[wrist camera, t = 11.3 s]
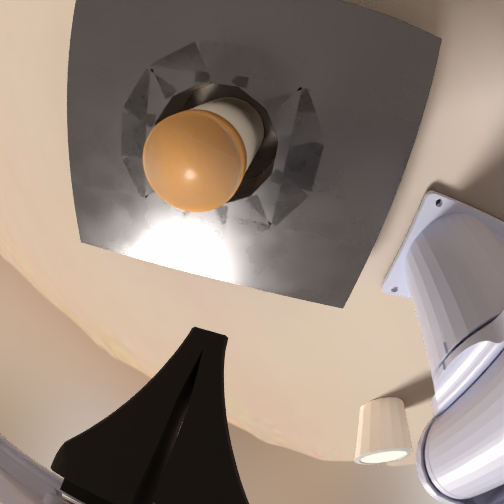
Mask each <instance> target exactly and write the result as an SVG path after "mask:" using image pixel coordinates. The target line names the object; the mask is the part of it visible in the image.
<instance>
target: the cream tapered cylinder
mask: <svg viewBox="0 0 504 504" xmlns="http://www.w3.org/2000/svg"><path fill="white" fill-rule="evenodd" d="M412 452H413V450H412V444H411V438H410V432H409V427H408V422H407V417H406V412H405V407H404V403H403V401H402V399H399V398H396V397H385V398H379V399H375V400H372V401H369V402H367V403H365V404H364V405H363V406H362V407H361V408H360V415H359V426H358V435H357V444H356V452H355V460H354V462H356V463H359V464H365V465H368V464H369V465H370V464H383V463H388V462H393V461H397V460H400V459H402V458H405V457H407V456H409V455H410V454H411V453H412Z"/></svg>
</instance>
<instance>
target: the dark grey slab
mask: <svg viewBox="0 0 504 504" xmlns="http://www.w3.org/2000/svg"><path fill="white" fill-rule="evenodd" d="M441 40H442V39H440V38H438V37H436V36H434V35H432V34H430V33H428V32H426V31H424V30H421V29H419V28H417V27H415V26H412V25H410V24H408V23H405V22H403V21H400V20H398V19H395V18H393V17H390V16H387V15H385V14H382V13H379V12H376V11H373V10H370V9H367V8H364V7H361V6H358V5H354V4H351V3H347V2H344V1H340V0H76V4H75V9H74V16H73V23H72V30H71V39H70V49H69V62H68V82H67V125H68V146H69V160H70V171H71V180H72V188H73V196H74V203H75V210H76V216H77V222H78V228H79V234H80V239H81V242H82V243H86V244H89V245H93V246H96V247H99V248H103V249H106V250H110V251H113V252H117V253H120V254H124V255H127V256H131V257H135V258H138V259H142V260H145V261H149V262H153V263H156V264H160V265H164V266H168V267H171V268H175V269H179V270H183V271H187V272H190V273H194V274H198V275H202V276H206V277H210V278H214V279H218V280H222V281H226V282H230V283H234V284H238V285H242V286H246V287H250V288H255V289H259V290H263V291H267V292H271V293H276V294H280V295H284V296H289V297H293V298H298V299H302V300H306V301H311V302H316V303H320V304H325V305H329V306H334V307H339V308H343V307H344V305H345V303H346V302H347V300H348V298H349V296H350V294H351V292H352V290H353V288H354V286H355V284H356V282H357V280H358V278H359V276H360V274H361V272H362V270H363V268H364V265H365V263H366V261H367V259H368V257H369V255H370V253H371V250H372V248H373V246H374V244H375V242H376V239H377V237H378V235H379V233H380V230H381V228H382V226H383V223H384V221H385V219H386V216H387V214H388V211H389V209H390V207H391V204H392V202H393V199H394V197H395V194H396V192H397V189H398V186H399V184H400V181H401V178H402V176H403V173H404V170H405V168H406V165H407V162H408V159H409V156H410V153H411V151H412V148H413V145H414V142H415V139H416V135H417V132H418V129H419V126H420V123H421V119H422V116H423V113H424V109H425V106H426V102H427V99H428V95H429V91H430V88H431V84H432V80H433V76H434V72H435V68H436V63H437V59H438V54H439V50H440V45H441ZM211 83H214V84H223V85H230V86H237V87H239V88H240V89H242V90H243V91H244V92H246V93H247V94H248V95H249V96H251V97H252V98H253V99H255V100H256V101H257V102H258V103H260V104H261V105H262V106H263V107H264V108H266V109H267V112H268V115H269V117H270V120H271V123H272V125H273V128H274V131H275V134H276V136H277V139H278V147H277V152H276V157H275V160H274V161H273V162H272V163H271V164H270V165H269V166H268V167H267V168H266V169H265V170H264V171H263V172H262V173H261V174H260V175H259V176H256V177H252V178H249V179H245V180H242V182H241V184H240V185H239V187H238V189H237V191H236V192H235V194H234V195H233V196H232V197H231V199H230V200H228V201H227V202H226V203H225V204H223V205H222V206H220V207H218V208H216V209H213V210H210V211H206V212H189V211H184V210H181V209H178V208H176V207H174V206H172V205H170V204H168V203H167V202H166V201H164V200H163V199H162V198H161V197H160V196H159V195H158V194H157V193H156V192H155V191H154V190H153V188H152V187H151V185H150V183H149V181H148V179H147V177H146V174H145V171H144V166H143V149H144V145H145V142H146V140H147V137H148V136H149V134H150V132H151V131H152V130H153V128H154V127H155V126H156V125H157V124H158V123H159V122H161V121H162V120H164V119H165V118H167V117H169V116H171V115H174V114H176V113H179V111H180V110H181V109H182V107H183V106H184V104H185V103H186V102H187V100H188V99H189V98H190V96H191V95H192V94H193V92H194V91H195V90H197V89H199V88H201V87H204V86H206V85H208V84H211Z"/></svg>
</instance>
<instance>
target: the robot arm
mask: <svg viewBox="0 0 504 504" xmlns="http://www.w3.org/2000/svg"><path fill="white" fill-rule="evenodd" d="M438 199H441V201H440V203H438V204H436V201H437V200H438ZM381 287H382V291H383V292H385V293H388V294H393V295H397V296H401V297H406V298H410V299H412V302H413V305H414V308H415V312H416V315H417V318H418V322H419V326H420V329H421V333H422V337H423V341H424V345H425V349H426V353H427V357H428V362H429V366H430V371H431V375H432V380H433V384H434V391H435V395H434V396H433V398H432V399H431V402H432V409H433V415H434V417H433V418H432V419H431V420H430V421H429V423H428V424H427V425H426V427H425V428H424V430H423V432H422V434H421V436H420V439H419V442H418V446H417V451H416V467H417V472H418V476H419V479H420V481H421V483H422V485H423V486H424V488H425V490H426V491H427V492H428V493H429V494H430V495H431V496H432V497H433V498H435V499H436V500H438V501H440V502H443V503H446V504H504V222H503V221H501V220H499V219H497V218H495V217H493V216H491V215H489V214H487V213H485V212H482V211H480V210H478V209H476V208H474V207H471V206H469V205H467V204H465V203H462V202H460V201H458V200H455V199H453V198H450V197H448V196H446V195H443V194H441V193H438V192H436V191H432V190H431V191H428V192H427V193H426V194H425V196H424V198H423V200H422V203H421V205H420V207H419V209H418V212H417V214H416V216H415V218H414V221H413V223H412V225H411V227H410V229H409V231H408V233H407V236H406V238H405V240H404V242H403V244H402V246H401V248H400V250H399V252H398V254H397V256H396V258H395V260H394V262H393V264H392V266H391V267H390V269H389V271H388V273H387V275H386V277H385V279H384V280H383V282H382V285H381ZM393 287H396V288H394V289H392V288H393ZM227 341H228V337H227V336H225V335H222V334H218V333H215V332H211V331H207V330H204V329H201V328H197V327H194V328H192V329H191V331H190V333H189V334H188V336H187V337H186V339H185V340H184V342H183V343H182V344H181V346H180V347H179V348H178V350H177V351H176V352H175V353H174V355H173V356H172V357H171V358H170V359H169V360H168V362H167V363H166V364H165V365H164V366H163V367H162V369H161V370H160V371H159V372H158V373H157V374H156V375H155V376H154V377H153V378H152V379H151V380H150V381H149V382H148V383H147V384H146V385H145V386H144V387H143V388H142V389H141V390H140V391H139V392H138V393H137V394H135V396H133V397H132V398H131V399H130V400H129V401H127V402H126V403H125V404H124V405H122V406H121V407H120V408H119V409H117V410H116V411H115V412H113V413H112V414H111V415H109V416H108V417H106V418H105V419H103V420H102V421H100V422H99V423H97V424H96V425H94V426H93V427H91V428H90V429H88V430H86V431H84V432H83V433H81V434H79V435H77V436H75V437H74V438H71V439H70V440H68V441H66V442H65V443H64V444H63V445H62V446H61V448H60V449H59V451H58V452H57V454H56V456H55V458H54V460H53V463H52V465H51V469H52V470H53V471H54V472H56V473H57V474H59V475H60V476H62V477H64V479H63V478H61V477H60V476H58V475H56V474H55V473H53V472H51V471H50V470H48V469H47V468H45V467H44V466H42V465H41V464H39V463H38V462H36V461H35V460H33V459H32V458H30V457H29V456H28V455H26V454H25V453H23V452H22V451H21V450H19V449H18V448H17V447H15V446H14V445H13V444H11V443H10V442H9V441H8V440H7V439H6V437H4V436H3V435H2V434H1V433H0V500H1V502H3V504H80V503H81V504H249V502H248V500H247V498H246V494H245V492H244V489H243V486H242V483H241V480H240V477H239V473H238V470H237V466H236V462H235V458H234V454H233V450H232V446H231V441H230V436H229V430H228V424H227V417H226V408H225V397H224V358H225V350H226V346H227ZM182 422H183V423H182ZM181 424H182V425H181ZM180 427H181V428H180ZM179 430H180V431H179ZM178 432H179V433H178ZM62 493H63V494H65V495H66V496H68V497H70V498H72V499H74V500H75V501H77V502H75V501H73V500H71V499H68V498H66V497H63V496H62ZM78 502H79V503H78Z"/></svg>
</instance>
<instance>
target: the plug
mask: <svg viewBox="0 0 504 504" xmlns="http://www.w3.org/2000/svg"><path fill="white" fill-rule="evenodd" d="M263 136H264V128H263V123H262V120H261V118H260V116H259V114H258V112H257V111H256V110H255V109H254V108H253V107H252V106H251V105H250V104H248V103H247V102H245V101H243V100H241V99H238V98H233V97H223V98H218V99H215V100H212V101H209V102H207V103H204V104H202V105H199V106H196V107H194V108H191V109H189V110H185V111H182V112H179V113H176V114H174V115H171V116H169V117H167V118H165V119H164V120H162V121H161V122H159V123H158V124H157V125H156V126H155V127H154V128H153V130H152V131H151V132H150V134H149V136H148V137H147V140H146V142H145V145H144V149H143V166H144V171H145V174H146V177H147V179H148V181H149V183H150V185H151V187H152V188H153V190H154V191H155V192H156V193H157V194H158V195H159V196H160V197H161V198H162V199H163V200H164V201H166V202H167V203H168V204H170V205H172V206H174V207H176V208H178V209H181V210H184V211H189V212H206V211H210V210H213V209H216V208H218V207H220V206H222V205H223V204H225V203H226V202H227V201H228V200H230V199H231V197H232V196H233V195H234V194H235V192H236V191H237V189H238V187H239V185H240V184H241V182H242V180H243V177H244V175H245V172H246V170H247V169H248V167H249V165H250V163H251V162H252V160H253V158H254V157H255V155H256V153H257V151H258V150H259V148H260V146H261V144H262V141H263Z"/></svg>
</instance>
